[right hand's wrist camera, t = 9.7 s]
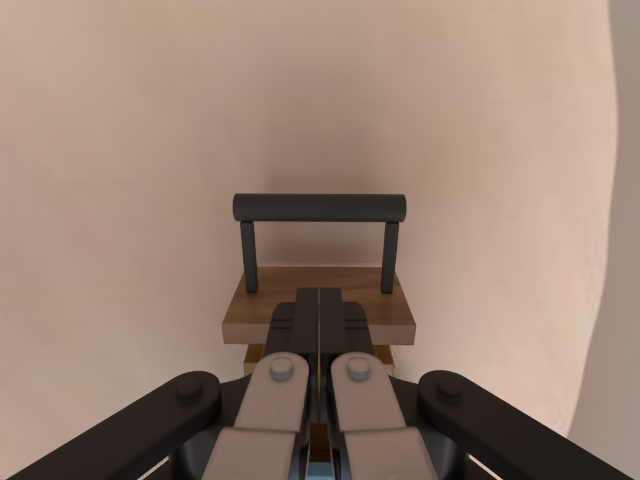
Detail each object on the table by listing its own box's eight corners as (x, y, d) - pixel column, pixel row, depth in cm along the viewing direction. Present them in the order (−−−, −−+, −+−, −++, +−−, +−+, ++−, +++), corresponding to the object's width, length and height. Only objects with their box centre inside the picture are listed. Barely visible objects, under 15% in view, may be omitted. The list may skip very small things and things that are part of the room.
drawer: (238, 179, 21) (207, 214, 15) (401, 180, 21) (430, 215, 15) (261, 444, 29) (246, 528, 23) (377, 445, 29) (389, 529, 23)
